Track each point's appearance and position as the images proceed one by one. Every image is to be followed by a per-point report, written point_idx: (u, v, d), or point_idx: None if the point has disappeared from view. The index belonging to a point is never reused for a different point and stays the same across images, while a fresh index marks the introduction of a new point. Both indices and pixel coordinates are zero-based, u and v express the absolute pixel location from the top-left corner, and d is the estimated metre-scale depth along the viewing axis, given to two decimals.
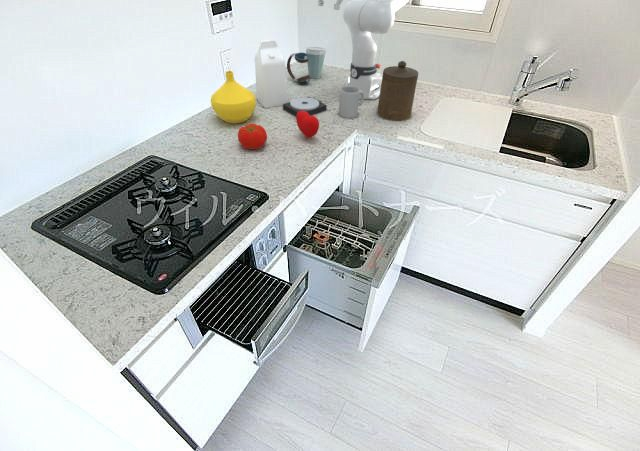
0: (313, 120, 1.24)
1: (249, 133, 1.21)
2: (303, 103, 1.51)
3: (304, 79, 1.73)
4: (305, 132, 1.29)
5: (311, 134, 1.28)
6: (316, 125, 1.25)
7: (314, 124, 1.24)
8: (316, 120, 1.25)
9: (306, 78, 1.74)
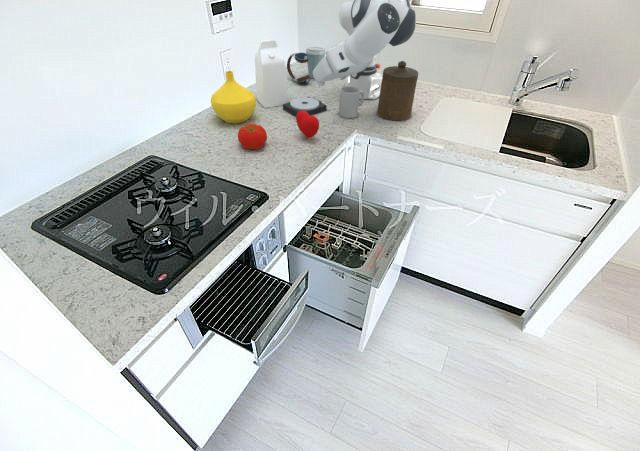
0: (313, 120, 1.24)
1: (249, 133, 1.21)
2: (303, 103, 1.51)
3: (304, 79, 1.73)
4: (305, 132, 1.29)
5: (311, 134, 1.28)
6: (316, 125, 1.25)
7: (314, 124, 1.24)
8: (316, 120, 1.25)
9: (306, 78, 1.74)
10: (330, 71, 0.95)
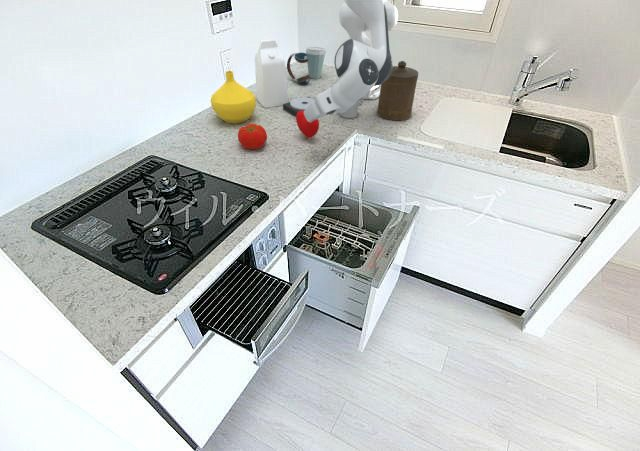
0: None
1: (249, 133, 1.21)
2: (303, 103, 1.51)
3: (304, 79, 1.73)
4: (305, 132, 1.29)
5: (311, 134, 1.28)
6: (316, 125, 1.25)
7: (314, 124, 1.24)
8: (316, 120, 1.25)
9: (306, 78, 1.74)
10: (319, 113, 1.07)
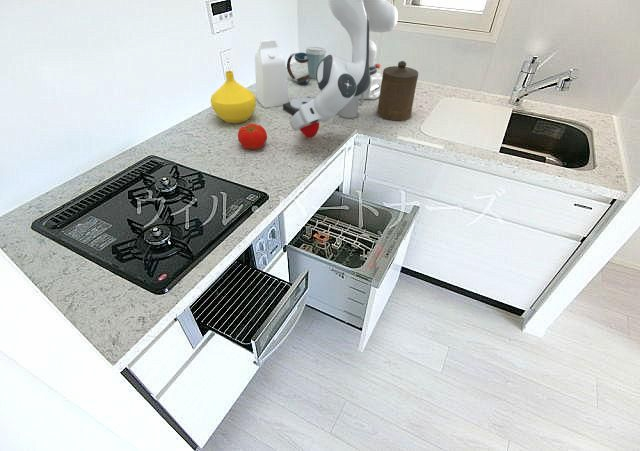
0: None
1: (249, 133, 1.21)
2: (303, 103, 1.51)
3: (304, 79, 1.73)
4: (305, 132, 1.29)
5: (311, 134, 1.28)
6: (316, 125, 1.25)
7: (314, 124, 1.24)
8: None
9: (306, 78, 1.74)
10: (303, 122, 1.16)
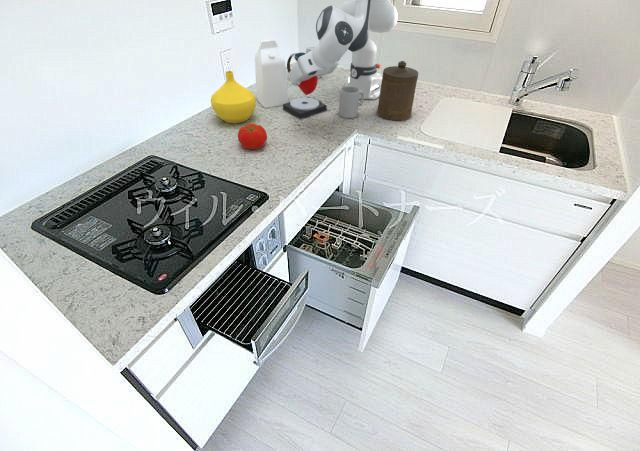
0: None
1: (249, 133, 1.21)
2: (303, 103, 1.51)
3: None
4: (304, 88, 1.32)
5: (310, 89, 1.31)
6: (315, 79, 1.28)
7: (312, 79, 1.27)
8: None
9: None
10: (301, 74, 1.19)
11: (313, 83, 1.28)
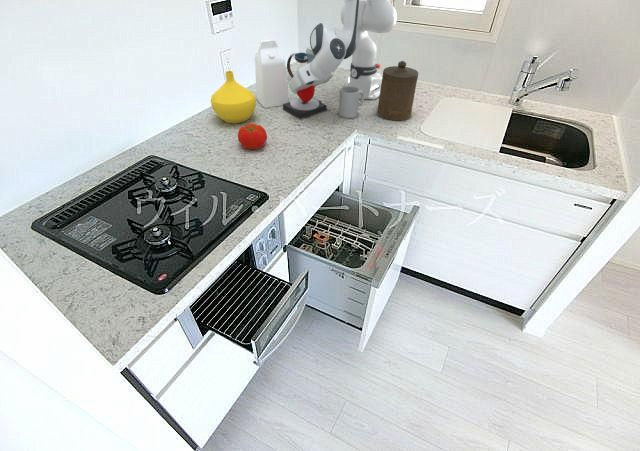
0: None
1: (249, 133, 1.21)
2: (303, 103, 1.51)
3: None
4: (302, 96, 1.47)
5: (308, 98, 1.46)
6: (312, 89, 1.43)
7: (310, 89, 1.42)
8: None
9: None
10: (300, 84, 1.34)
11: (310, 92, 1.43)
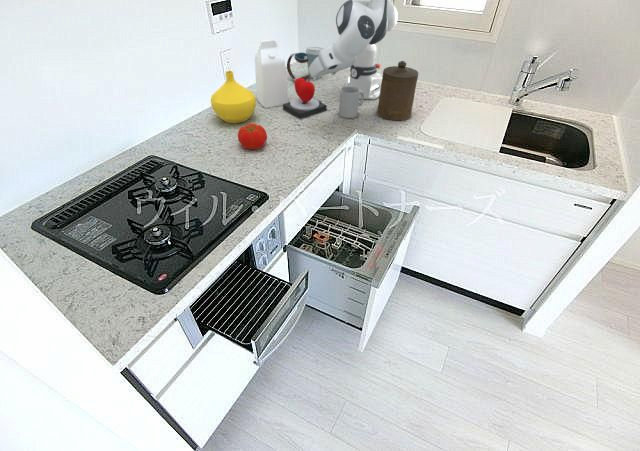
0: (309, 85, 1.42)
1: (249, 133, 1.21)
2: (303, 103, 1.51)
3: (304, 79, 1.73)
4: (302, 96, 1.47)
5: (308, 98, 1.46)
6: (312, 89, 1.43)
7: (310, 89, 1.42)
8: (312, 85, 1.43)
9: (306, 78, 1.74)
10: (322, 68, 1.20)
11: (310, 92, 1.43)
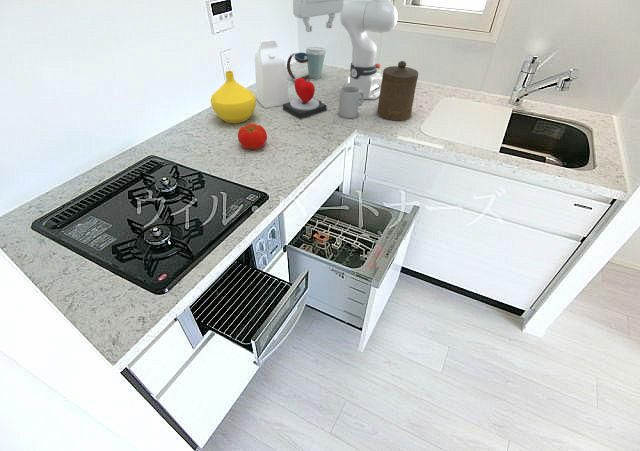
0: (309, 85, 1.42)
1: (249, 133, 1.21)
2: (303, 103, 1.51)
3: (304, 79, 1.73)
4: (302, 96, 1.47)
5: (308, 98, 1.46)
6: (312, 89, 1.43)
7: (310, 89, 1.42)
8: (312, 85, 1.43)
9: (306, 78, 1.74)
10: None
11: (310, 92, 1.43)
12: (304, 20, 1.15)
